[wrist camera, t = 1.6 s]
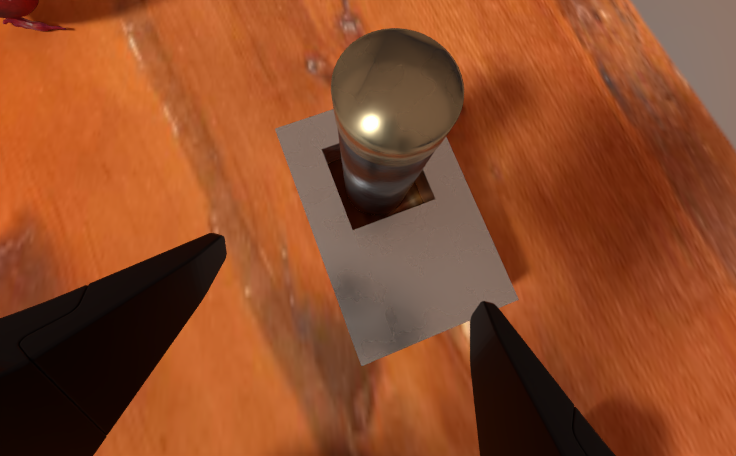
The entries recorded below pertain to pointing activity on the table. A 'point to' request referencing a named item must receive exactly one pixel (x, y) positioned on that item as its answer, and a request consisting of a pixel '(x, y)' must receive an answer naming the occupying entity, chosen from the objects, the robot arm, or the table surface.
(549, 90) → the table surface
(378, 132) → the end plug
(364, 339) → the housing block
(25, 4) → the decorative bird figurine
